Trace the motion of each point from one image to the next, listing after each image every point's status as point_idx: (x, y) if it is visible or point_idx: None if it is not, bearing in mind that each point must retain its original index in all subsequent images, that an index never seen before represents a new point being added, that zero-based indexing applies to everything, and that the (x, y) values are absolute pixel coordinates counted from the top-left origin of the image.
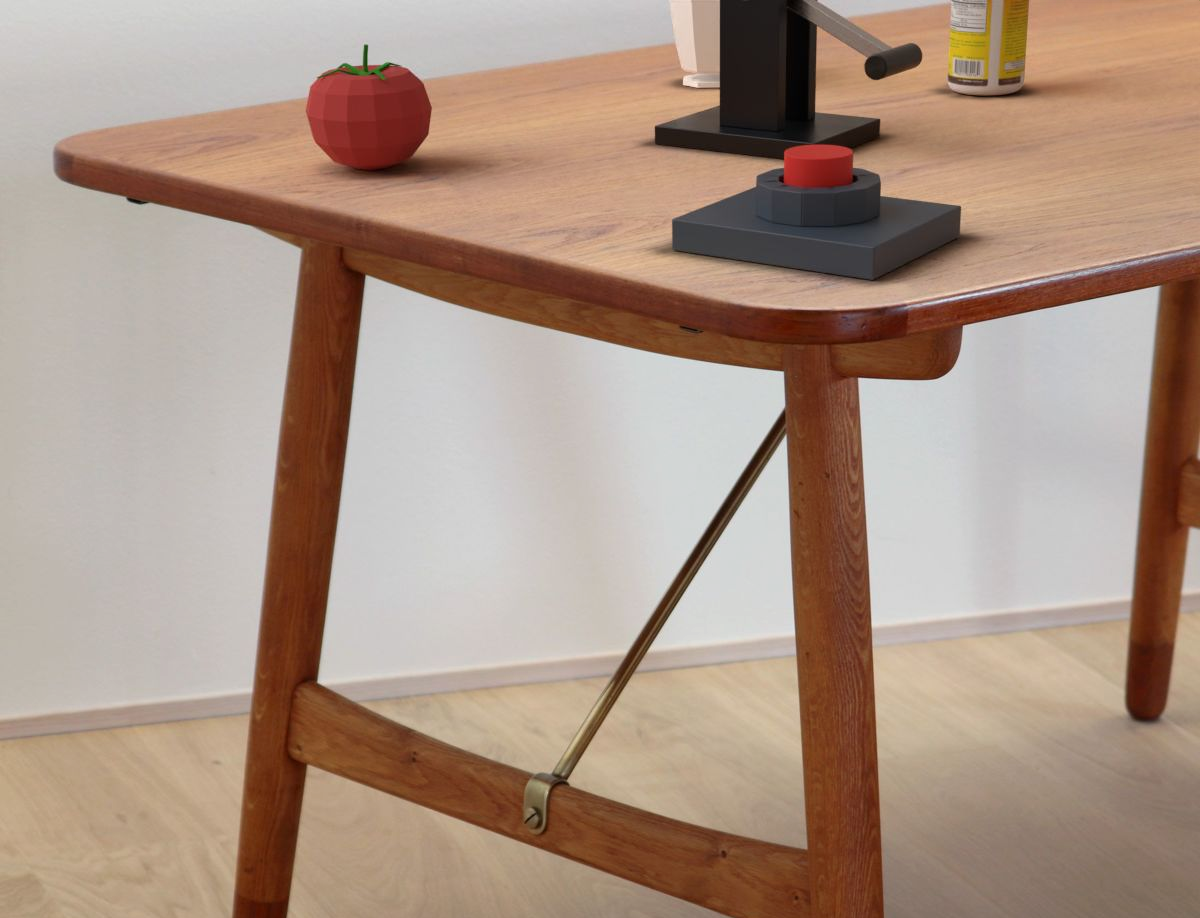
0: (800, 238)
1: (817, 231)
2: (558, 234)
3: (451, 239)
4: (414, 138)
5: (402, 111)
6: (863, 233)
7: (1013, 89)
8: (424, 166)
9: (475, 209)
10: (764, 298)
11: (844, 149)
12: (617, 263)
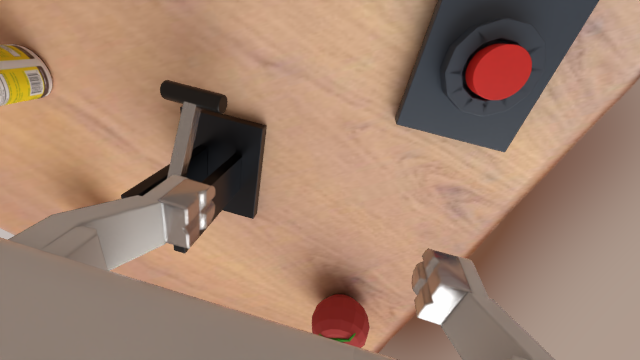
0: (561, 59)
1: (547, 51)
2: (460, 207)
3: (474, 246)
4: (347, 299)
5: (355, 314)
6: (555, 14)
7: (26, 48)
8: (334, 286)
9: (412, 251)
10: (626, 59)
11: (493, 54)
12: (526, 165)
